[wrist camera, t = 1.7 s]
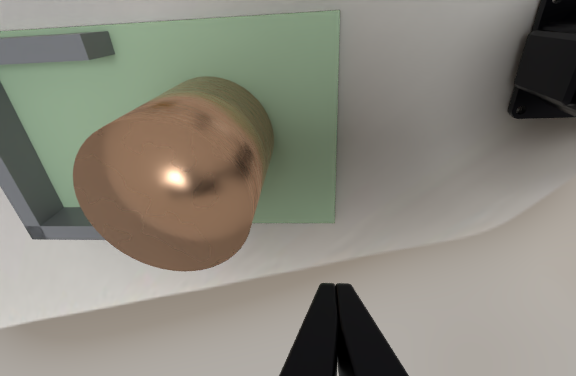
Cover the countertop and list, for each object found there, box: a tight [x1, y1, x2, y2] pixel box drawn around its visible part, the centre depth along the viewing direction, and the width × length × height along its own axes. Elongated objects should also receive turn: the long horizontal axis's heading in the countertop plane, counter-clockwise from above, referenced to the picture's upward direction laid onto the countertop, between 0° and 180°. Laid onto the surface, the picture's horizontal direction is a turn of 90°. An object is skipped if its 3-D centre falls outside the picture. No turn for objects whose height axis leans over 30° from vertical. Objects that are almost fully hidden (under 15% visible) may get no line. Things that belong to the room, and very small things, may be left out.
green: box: [0, 10, 340, 223], centre depth 21 cm, size 22×14×1 cm, turn 93°
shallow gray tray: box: [0, 31, 115, 240], centre depth 20 cm, size 9×13×2 cm
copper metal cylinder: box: [73, 76, 274, 271], centre depth 16 cm, size 8×8×8 cm
